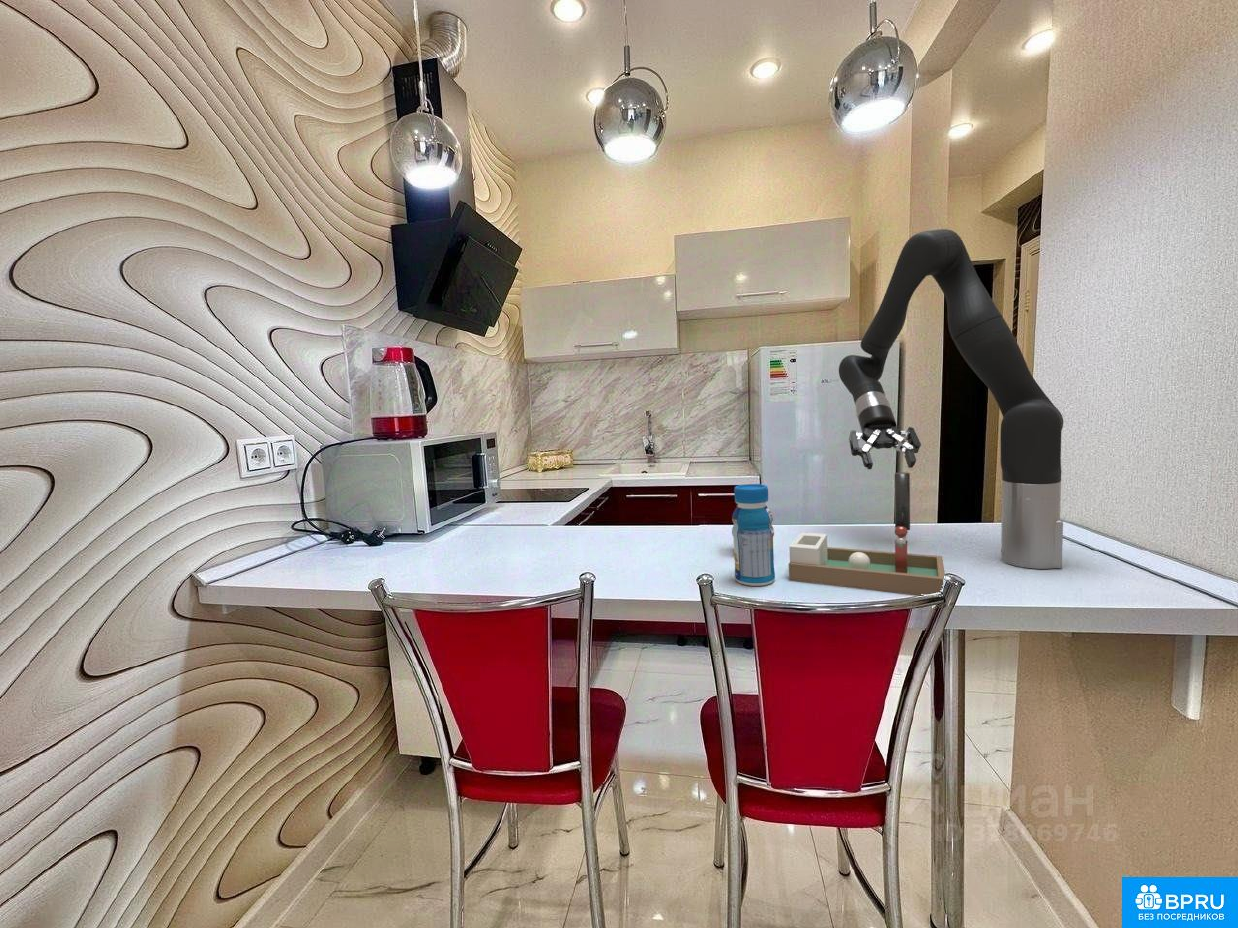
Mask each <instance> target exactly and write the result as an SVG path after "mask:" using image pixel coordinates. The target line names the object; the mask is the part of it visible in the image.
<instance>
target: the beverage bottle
mask: <svg viewBox="0 0 1238 928" xmlns="http://www.w3.org/2000/svg"><path fill="white" fill-rule="evenodd" d="M733 491H734V502H735V504H736V507H735V509H734V511H733V513H732V516H731V517H732V518H731V521H732V523H733V526H732V528H731V535H732V537H733V553H734V579H735V581H737V583H739V584H742V585H745V586H751V587H760V586H761V587H763V586H767V585H770V584H772V583H774V582H775V580H776V572H775V564H774V563H775V562H774V561H775V560H774V559H775V558H774V536H775V529H774V527H773V525H772V522H773V521H774V519H773V514H772V512H771V510H770V508H769V507H768V506H767V505H766V504H767V503H768V501H769V487H768V485H765V484H759V483H746V484H745V483H744V484H739V485H736V486H734V490H733ZM737 504H738V506H737Z"/></svg>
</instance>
